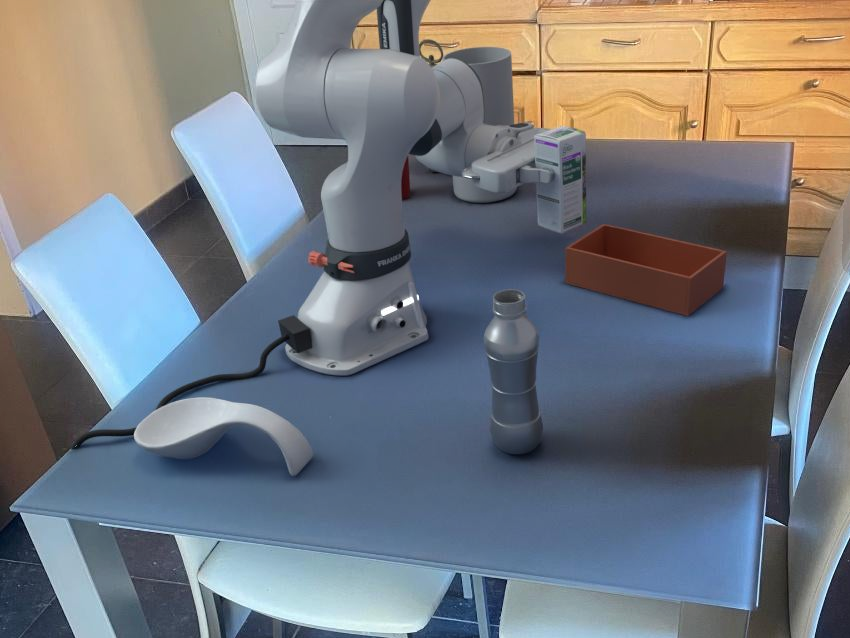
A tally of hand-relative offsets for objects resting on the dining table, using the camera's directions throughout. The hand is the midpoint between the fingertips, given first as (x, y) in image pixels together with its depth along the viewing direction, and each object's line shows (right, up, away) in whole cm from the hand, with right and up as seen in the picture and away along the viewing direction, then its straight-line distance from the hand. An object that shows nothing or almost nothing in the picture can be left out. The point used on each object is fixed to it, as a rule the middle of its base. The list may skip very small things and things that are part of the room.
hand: (565, 169), depth 144 cm
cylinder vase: (-12, +10, +39) cm, 42 cm away
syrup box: (0, -7, +6) cm, 9 cm away
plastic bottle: (-9, -45, -29) cm, 54 cm away
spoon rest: (-46, -46, -26) cm, 70 cm away
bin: (+13, -17, +2) cm, 22 cm away
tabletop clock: (-21, +19, +52) cm, 59 cm away
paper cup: (-30, +10, +42) cm, 52 cm away
